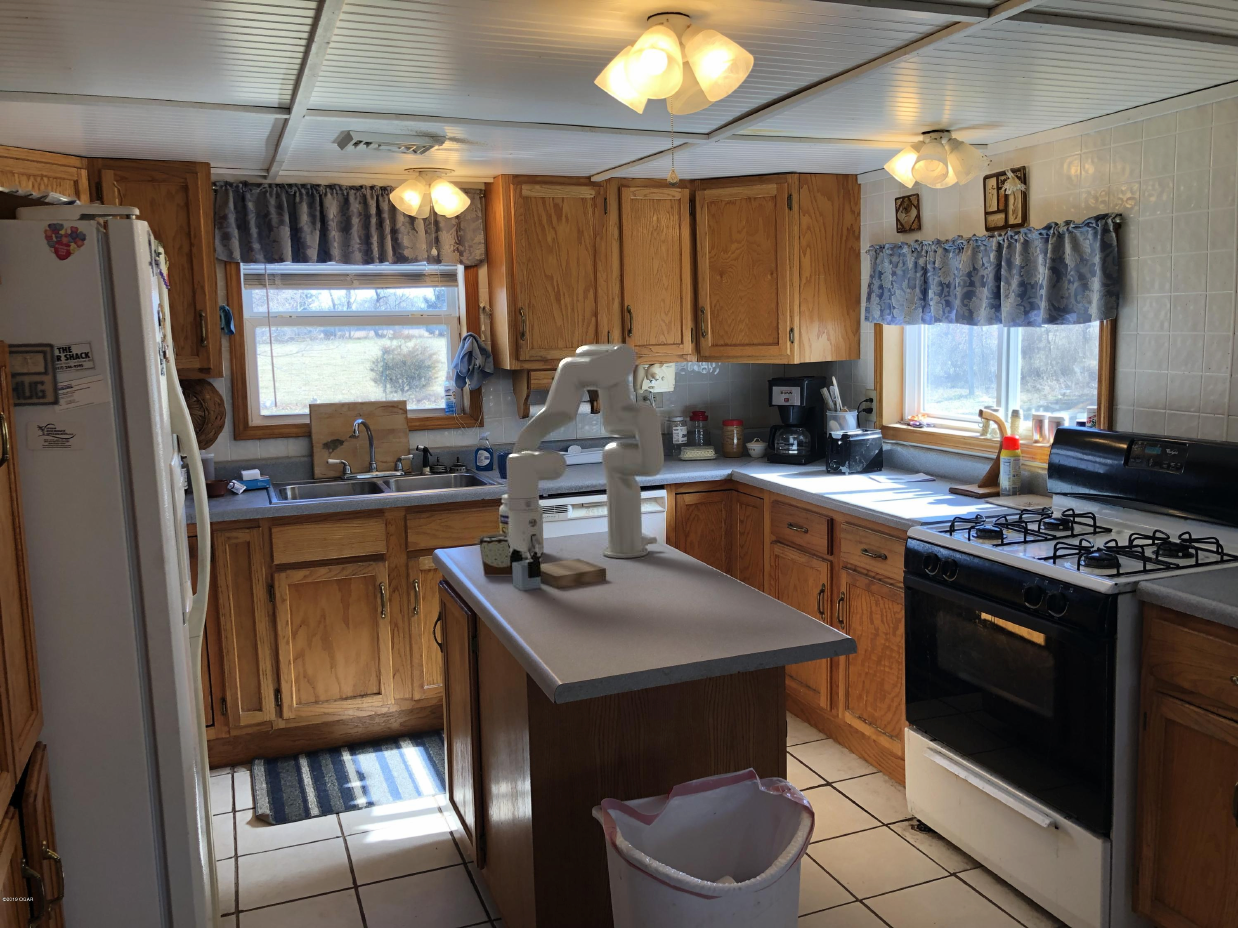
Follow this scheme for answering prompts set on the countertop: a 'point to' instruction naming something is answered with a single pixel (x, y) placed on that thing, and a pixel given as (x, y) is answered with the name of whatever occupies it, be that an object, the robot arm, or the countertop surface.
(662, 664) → the countertop surface
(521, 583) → the slate block
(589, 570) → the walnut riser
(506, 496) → the supplement tub
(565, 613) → the countertop surface
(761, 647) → the countertop surface
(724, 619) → the countertop surface
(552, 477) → the robot arm
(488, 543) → the food container
